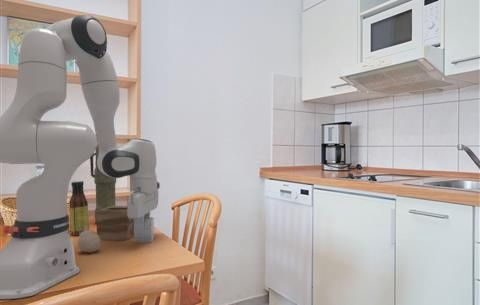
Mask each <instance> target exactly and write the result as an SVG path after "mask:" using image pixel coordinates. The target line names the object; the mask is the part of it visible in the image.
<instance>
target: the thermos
mask: <svg viewBox="0 0 480 305" xmlns="http://www.w3.org/2000/svg"><path fill="white" fill-rule="evenodd" d="M97 153H98V144H96V149H95V152H94V153H93V155H92V156H91V157H90V158H89V162H90V163H89V164H90V176H91V177H92V178H93V179H94V184H95V210H94V220H95V223H94V224H95V225H96V226H97V217H96V211H99V210H101V209H104V208H107V207H109V206H117V205H116V183H117V178H111V177H105V176H103V175H101V174H100V173H99V172H98V170H97V169H96V166H95V167H94V156H95V158H96V157H97Z"/></svg>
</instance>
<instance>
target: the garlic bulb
mask: <svg viewBox="0 0 480 305" xmlns="http://www.w3.org/2000/svg"><path fill="white" fill-rule="evenodd" d="M84 228H85V230H84V231H83V232H81V233H80V235H79V236H78V239H77V247H78V249H79V250H80V251H81V252H83V253H94V252H96V251H98V249H99V248H100V245H101V241H102V240H101V239H100V237H99V235H98V234H97V231H93V230H90V229H89V230H88V229H87V227H86V226H84Z"/></svg>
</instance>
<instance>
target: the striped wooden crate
mask: <svg viewBox="0 0 480 305" xmlns="http://www.w3.org/2000/svg"><path fill="white" fill-rule="evenodd" d="M127 206H128V205H116V206H109V207H107V208H104V209H101V210H99V211H96V217H97V225H96V233H97V234H98V235H99V237H100V239H101V241H128V240H130V239H131V238H132V237H133V238H134V219H130V218H128V216H127Z"/></svg>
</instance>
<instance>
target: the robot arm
mask: <svg viewBox="0 0 480 305" xmlns="http://www.w3.org/2000/svg"><path fill="white" fill-rule="evenodd" d="M107 45H108V38H107V32H106V29H105V27H104V26H103V24H102V23H101V22H100V21H99V20H98V19H97V18H96V17H94V16H92V15H89V14H82V15H76V16H75V17H70V18H67V19H64V20H58V21H55V22H54V23H52V24H49V25H48V26H45V27H41V28H32V29H29V30H27V31H26V32H25V33H24V35H23V36H22V41H21V44H20V48H19V55H18V63H17V64H18V65H17V81H16V82H17V83H16V90H15V94H14V97H13V99H12V102H11V104H10V105H9V106H8V108H7V109H6V110H5V112H3V113H2V114H1V115H0V163H1V164H9V165H25V164H27V165H29V164H31V165H32V164H37V165H38V164H41V165H43V171H42V172H41V173H40V174H39V175H37V176H34V177H32V178H30V179H28V180H26V181H24V182H23V183H21V185H19V186H18V189H17V191H16V194H15V195H16V196H15V198H16V204H15V205H16V219H15V220H14V223H13V225H7V224H6V225H4V226H3V228H2V233H3V234H4V235H10V236H11V237H10V239H9V241H7V243H6V244H5V245H4V246H3V247H2V249H1V250H0V300H11V299H13V300H14V299H21V298H27V297H31V296H34V295H37V294H39V293H41V292H43V291H44V290H46V289H49V288H51V287H53V286H55V285H57V284H58V283H60V282H62V281H65V280H66V279H69V278H71V277H72V276H75V275H76V274H77V275H78V274H79V273H80V272H81V271H80V266H78V265H76V256H75V255H76V254H75V247H74V240H73V238H72V237H71V236H70V235H71V234H69V231H68V230H69V228H70V215H69V214H68V192H69V185H70V182H71V179H72V178H73V175H74V174H75V173H76V171H77V170H78V168H80V167H81V166H82V165H83V164H84V163H85V162H86V161H88V160H90V157H91V156H92V155H93V153H96V146H97V144H98V153H97V157H96V156H95V167H96V169H97V170H98V172H99V173H100V174H101V175H103V176H105V177H111V178H116V179H120V178H124V177H127V176H129V192H130V194H129V195H128V199H127V205H126V206H127V216H128V218H130V219H137V221H138V227H139V228H144V227H145V222H144V217H151V212H152V211H154V210H156V209H157V208H158V205H159V195H160V194H159V192H160V191H159V190H160V188H161V185H160V184H161V183H160V182H159V181H158V180H157V178H158V177H157V173H156V167H157V152H156V147H155V144H154V143H153V142H152V141H150V140H148V139H143V138H132V139H130V140H129V141H128V142H127V143H125V144H122V145H120V146H118V142H117V141H118V140H117V136H116V130H115V115H116V112H117V109H118V108H119V105H120V101H121V99H120V93H121V92H120V85H119V80H118V76H117V73H116V69H115V66H114V64H113V60H112V58H111V56H110V54H109V53H108V52H107V49H108V47H107ZM70 61H74V64H75V65H76V66H77V68H78V71H79V72H78V73H79V81H80V86H81V91H82V95H83V98H84V101H85V103H86V106H87V109H88V111H89V114H90V116H91V119H92V122H93V127H94V130H95V132H94V130H93V128H91V126H89V125H88V124H84V123H79V122H75V121H71V120H70V121H66V120H63V121H62V120H61V121H60V120H41V119H42V117H43V116H44V115H45V114H46V113H48V112H49V111H51V110H54V109H57V108H58V107H60V106H61V105H63V104H64V102H66V99H67V87H68V86H67V84H68V83H67V77H68V76H67V74H68V71H67V70H68V68H67V62H70Z"/></svg>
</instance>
